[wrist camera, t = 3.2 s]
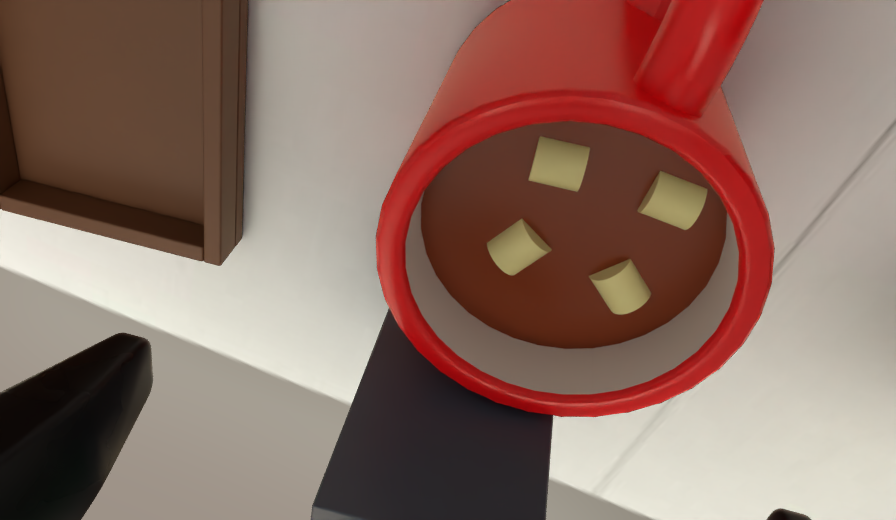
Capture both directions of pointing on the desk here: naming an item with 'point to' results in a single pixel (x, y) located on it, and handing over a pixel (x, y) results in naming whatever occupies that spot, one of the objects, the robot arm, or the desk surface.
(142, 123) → the tray
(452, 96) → the mug
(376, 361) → the stand
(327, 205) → the desk surface
